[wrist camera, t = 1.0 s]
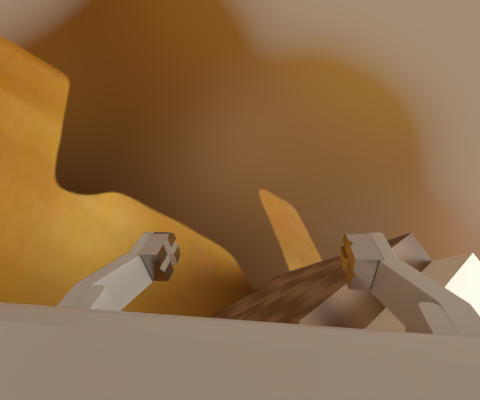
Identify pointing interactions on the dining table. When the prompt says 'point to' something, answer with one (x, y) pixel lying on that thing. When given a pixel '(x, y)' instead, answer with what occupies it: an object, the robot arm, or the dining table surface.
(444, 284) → the batten
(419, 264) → the tall stand
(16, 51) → the dining table surface
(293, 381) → the robot arm
